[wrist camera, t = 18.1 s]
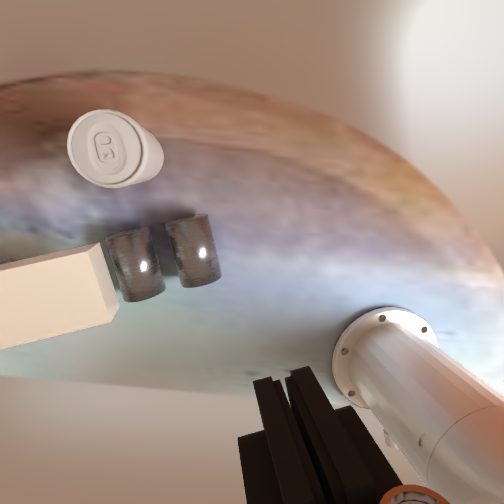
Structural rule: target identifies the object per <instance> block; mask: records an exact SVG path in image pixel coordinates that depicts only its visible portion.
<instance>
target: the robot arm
mask: <svg viewBox="0 0 504 504" xmlns="http://www.w3.org/2000/svg"><path fill="white" fill-rule="evenodd" d="M332 372H333V376H334V379H335V382H336V384H337V385H338V387H339V389H340V390H341V392H342V393H343V395H344V396H345V397H346V398H347V399H348V400H349V401H351V402H352V403H354V404H356V405H357V406H360V407H363V408H366V409H371V411H372V412H373V413H374V415H375V416H376V418H377V419H378V420H379V422H380V423H381V425H382V426H383V427H384V437H385V443H386V445H387V446H389V447H390V448H395V449H396V448H399V449H400V451H401V452H402V454H403V455H404V457H405V458H406V459H407V461H408V462H409V464H410V465H411V466H412V468H413V469H414V470H415V472H416V473H417V475H418V476H419V477H420V479H421V480H422V482H423V483H424V484H425V486H426V487H423V486H419V485H403V484H402V482H401V481H400V479H399V478H398V476H397V474H396V473H395V471H394V470H393V468H392V467H391V465H390V464H389V463H388V461H387V459H386V458H385V456H384V454H383V453H382V451H381V450H380V449H379V447H378V445H377V444H376V442H375V441H374V439H373V438H372V436H371V435H370V433H369V432H368V430H367V428H366V427H365V425H364V424H363V422H362V421H361V419H360V418H359V416H358V415H357V413H356V411H355V410H354V409H353V407H352V406H350V405H349V406H346V407H342V408H339V409H336V410H334V409H333V407H332V405H331V404H330V402H329V400H328V398H327V397H326V395H325V393H324V391H323V390H322V388H321V386H320V384H319V382H318V381H317V379H316V377H315V375H314V374H313V372H312V370H311V368H310V367H309V366H307V367H303V368H299V369H296V370H292V371H291V376H290V377H287V378H285V382H286V387H287V392H288V397H289V401H290V405H289V402H288V400H287V397H286V395H285V392H284V390H283V387H282V384H281V382H280V380H276V381H273V380H272V378H271V376H270V377H266V378H263V379H259V380H255V381H253V384H254V389H255V393H256V397H257V401H258V405H259V410H260V414H261V418H262V423H263V427H264V430H263V431H259V432H255V433H252V434H248V435H245V436H242V437H238V446H239V453H240V460H241V466H242V473H243V480H244V487H245V493H246V500H247V504H504V396H503V395H502V394H500V393H499V392H498V391H496V390H495V389H494V388H492V387H491V386H490V385H488V384H487V383H486V382H484V381H483V380H482V379H480V378H479V377H478V376H476V375H475V374H473V373H472V372H471V371H469V370H468V369H467V368H465V367H464V366H463V365H461V364H460V363H459V362H457V361H456V360H455V359H453V358H452V357H451V356H449V355H448V354H447V353H445V352H444V351H443V350H441V349H440V348H438V345H437V339H436V336H435V334H434V332H433V330H432V328H431V327H430V326H429V324H428V323H427V322H426V321H425V320H424V319H422V318H421V317H420V316H418V315H417V314H415V313H414V312H411V311H409V310H406V309H403V308H398V307H384V308H380V309H375V310H373V311H370V312H368V313H365V314H364V315H362V316H360V317H359V318H357V319H356V320H355V321H354V322H352V323H351V324H350V325H349V326H348V327H347V328H346V330H345V331H344V332H343V333H342V335H341V336H340V338H339V340H338V342H337V344H336V346H335V349H334V352H333V358H332ZM290 406H291V408H290Z"/></svg>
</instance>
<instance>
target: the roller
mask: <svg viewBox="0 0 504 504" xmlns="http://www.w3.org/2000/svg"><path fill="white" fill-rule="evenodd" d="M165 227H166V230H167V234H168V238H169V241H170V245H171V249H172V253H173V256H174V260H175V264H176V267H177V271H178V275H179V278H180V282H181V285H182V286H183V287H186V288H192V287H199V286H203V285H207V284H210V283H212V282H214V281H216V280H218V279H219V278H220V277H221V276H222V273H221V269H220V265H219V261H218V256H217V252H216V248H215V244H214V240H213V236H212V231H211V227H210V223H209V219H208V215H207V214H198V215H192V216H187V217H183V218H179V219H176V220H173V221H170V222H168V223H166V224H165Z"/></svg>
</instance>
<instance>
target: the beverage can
mask: <svg viewBox="0 0 504 504" xmlns="http://www.w3.org/2000/svg"><path fill="white" fill-rule="evenodd" d="M67 152H68V156H69V158H70V161H71V164H72V165H73V166H74V168H75V169H76V171H77V172H78V173H79V174H80V175H81V176H82V177H84V178H85V179H86V180H88V181H89V182H91V183H93V184H95V185H97V186H101V187H105V188H120V187H124V186H129V185H133V184H137V183H141V182H144V181H148V180H150V179H152V178H154V177H155V176H156V175H157V174H158V173H159V171H160V169H161V168H162V165H163V161H164V155H163V150H162V148H161V145H160V144H159V142H158V141H157V139H156V138H155V137H154V136H153V135H152V134H151V133H150V132H148V131H147V130H146V129H144V128H143V127H142V126H141V125H139V124H138V123H137V122H136V121H135V120H133V119H132V118H130V117H129V116H127V115H125V114H124V113H122V112H118V111H115V110H111V109H99V110H94V111H90V112H87V113H86V114H84V115H82V116H80V117H79V118H78V119H77V120H76V121H75V122H74V124H73V125H72V127H71V129H70V131H69V133H68V138H67Z"/></svg>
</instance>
